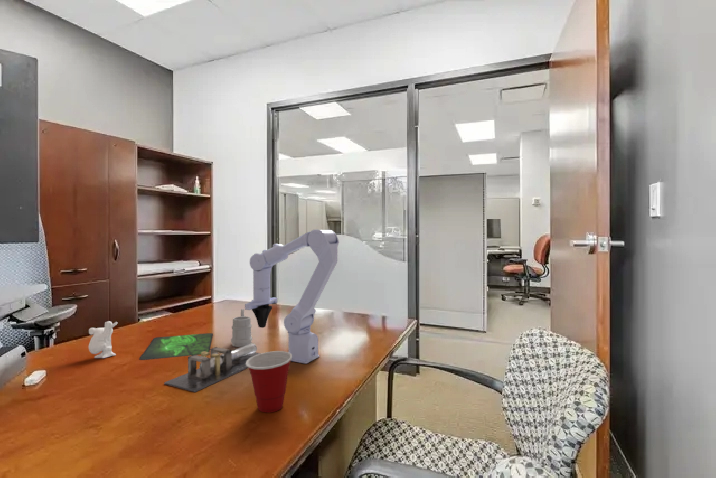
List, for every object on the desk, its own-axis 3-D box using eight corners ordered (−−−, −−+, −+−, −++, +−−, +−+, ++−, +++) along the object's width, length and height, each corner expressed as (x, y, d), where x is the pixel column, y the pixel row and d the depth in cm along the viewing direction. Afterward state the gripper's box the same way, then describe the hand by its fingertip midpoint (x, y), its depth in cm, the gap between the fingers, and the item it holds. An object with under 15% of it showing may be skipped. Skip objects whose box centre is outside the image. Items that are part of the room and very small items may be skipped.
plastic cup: (244, 401, 91) (244, 352, 91) (288, 394, 95) (288, 348, 95) (247, 422, 81) (246, 367, 81) (296, 413, 85) (296, 361, 85)
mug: (230, 348, 134) (230, 315, 134) (232, 339, 145) (232, 308, 145) (252, 346, 136) (251, 313, 136) (252, 337, 147) (252, 307, 147)
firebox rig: (272, 356, 124) (272, 338, 124) (194, 392, 96) (194, 368, 96) (245, 351, 129) (244, 333, 129) (164, 384, 102) (164, 361, 102)
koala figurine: (122, 353, 128) (121, 318, 128) (111, 359, 121) (111, 323, 121) (96, 354, 127) (95, 319, 127) (83, 361, 120) (83, 324, 120)
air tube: (249, 351, 125) (249, 340, 125) (256, 353, 124) (256, 341, 124) (199, 372, 107) (199, 358, 107) (207, 374, 105) (207, 360, 105)
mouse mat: (209, 354, 128) (209, 351, 128) (137, 362, 120) (137, 358, 120) (213, 334, 153) (213, 332, 153) (153, 339, 146) (153, 336, 146)
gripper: (266, 284, 137) (266, 321, 137) (237, 290, 124) (238, 330, 124) (282, 285, 133) (282, 323, 134) (254, 291, 120) (254, 332, 121)
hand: (262, 326), depth 128 cm, fingers closed
